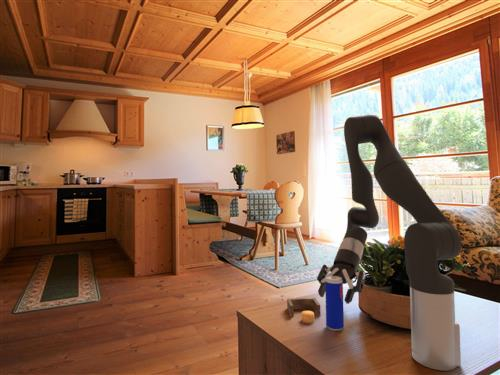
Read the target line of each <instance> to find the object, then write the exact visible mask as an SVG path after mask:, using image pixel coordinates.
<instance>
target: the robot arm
mask: <svg viewBox="0 0 500 375" xmlns="http://www.w3.org/2000/svg"><path fill="white" fill-rule="evenodd" d="M343 136H344V137H343V138H344V142H345V149H346V154H347V160H348V165H349V169H350V170H349V171H350V177H351V178H350V179H351V198H352V201H353V202H354V203H356V204H360V205H362V207H360V206H353V207H351V208H350V209H349V210H348V211H347V225H346V231H345V234H344V237H343V238H342V241H341V243H340V244H339V248H338V249H337V252H336V255H335V258H334V260H333V263H332V266H327V265H326V264H323V265H322V267H321V269H320V271H319V273H318V275H317V277H316V280H317V281H318V282H319V284H320V285H319V288H318V291H317V293H318V295H319V296H320V298H324V297H325V295H326V293H325V280H326V277H327V276H338V277H341V278H342V281H343V285H346V284H347V285H348V289H347V292H346V294H345V296H344V302H345V303H346V304H348V305H349V304H350V303H352V301H353V298H354V296H355V293H362V292H363V289H364V286H365V281H366V277H367V276H366V275H365V272H364V271H363V270H360V271H358V269H359V265H360V263H361V260H362V258H363V253H364V248H365V245H366V242H367V239H368V232H367V230H365V229H364V228H366V229H374V228H376V227H377V226H378V224H379V220H380V215H379V212H378V209H377V206H376V203H375V199H374V178H375V180H376V182H377V184H378V185H379V188H380V190H382V192H383V193H384V194H385V196H387V198H389V199H390V200H391V201H392V202H394V203H395V204H397V205H398V206H399V207H401V208H402V209H404V211H407V213H408V214H410V215H411V217H412V218H413V219H414V220H415V223H412V224H410V225H409V226H408V227H407V228H406V229H405V233H404V238H403V246H404V258H405V268H406V269H405V271H406V274H407V277H408V279H409V280H408V281H409V297H410V298H409V299H410V302H409V303H410V330H411V331H410V332H411V336H410V337H411V356H412V358H413V359H414V360H415V361H416V362H417V363H418V364H420V365H421V366H424V367H427V368H428V369H433V370H437V371H445V372H446V371H447V372H448V371H452V370H455V369H456V368H457V367H461V366H462V360H461V359H462V358H461V332H460V329H461V328H460V324H458V323H457V322H456V308H455V306H456V305H455V303H456V302H455V282H454V280H453V279H452V278H451V277H450V276H448V275H445V274H442V273H440V270H439V265H438V264H439V263H438V261H443V260H444V261H445V260H452V259H455V258H457V257H458V256H459V255H460V253H461V252H462V247H463V246H462V243H463V242H462V239H461V236H460V233H459V232H458V230H457V229H456V227H455V226H454V224H453V223H452V222H451V221H450V220H449V219H448V217H447V216H446V214H444V213H443V212H442V211H441V209H440V208H439V206H437V205H436V204H435V202H434V201H433V200H432V198H431V197H430V196H429V194H428V193H427V191H426V190H425V188H423V186H422V184H421V183H420V182H419V180H418V179H417V177H416V176H415V174H414V172H413V171H412V169H411V168H410V166H409V165H408V164H407V162H406V161H405V160H404V158H403V157H402V155H401V154H400V152H399V151H398V149H397V147H396V146H395V144H394V143H393V141H392V139H391V137H390V135H389V133H388V131H387V129H386V127H385V125H384V124H383V122H382V120H381V119H380V118H379V116H378V115H376V114H374V113H370V114H362V115H361V114H360V115H354V116H349V117H348V118H346V120H345V121H344V124H343ZM368 143H371V144H372V145H373V146H374V148H375V150H376V157H375V159H374V160H375V161H374V165H373V175H372V174H371V171H370V170H369V168H368V167H367V165H366V164H365V163H364V161H363V159H362V158H361V155H360V152H359V145H362V144H368ZM373 176H374V178H373ZM334 269H335V270H334ZM355 278H356V279H357V280H356V284H355V285H354V283H353V281H352V280H353V279H355Z"/></svg>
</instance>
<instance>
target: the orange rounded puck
mask: <svg viewBox="0 0 500 375" xmlns="http://www.w3.org/2000/svg"><path fill="white" fill-rule="evenodd" d="M301 322H302V323H304V324H313V323H315V311H312V310H303V311H301Z"/></svg>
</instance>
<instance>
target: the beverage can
mask: <svg viewBox="0 0 500 375" xmlns="http://www.w3.org/2000/svg"><path fill="white" fill-rule="evenodd" d="M344 312H345V311H344V284H343V281H342V278H341V277H338V276H327V277H326V280H325V325H326V327H327V329H329V330H331V331H336V332H337V331H342V330H343V329H344V326H345V324H344V323H345V322H344V321H345V320H344V319H345V318H344V316H345V315H344Z"/></svg>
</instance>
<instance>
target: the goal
mask: <svg viewBox="0 0 500 375" xmlns="http://www.w3.org/2000/svg"><path fill="white" fill-rule="evenodd" d="M286 305H287V306H286V309H287V311H288V313H289V316H290V317H293V318H294V317H295V316H294V313H295V312H294V310H313V312H314V314H316V315H317V317H318V316H319V317H320V316H321V304H320V303H319V301H318V300H317V299H316V297H301V298H300V297H297V298H294V297H293V298H287V299H286Z"/></svg>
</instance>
